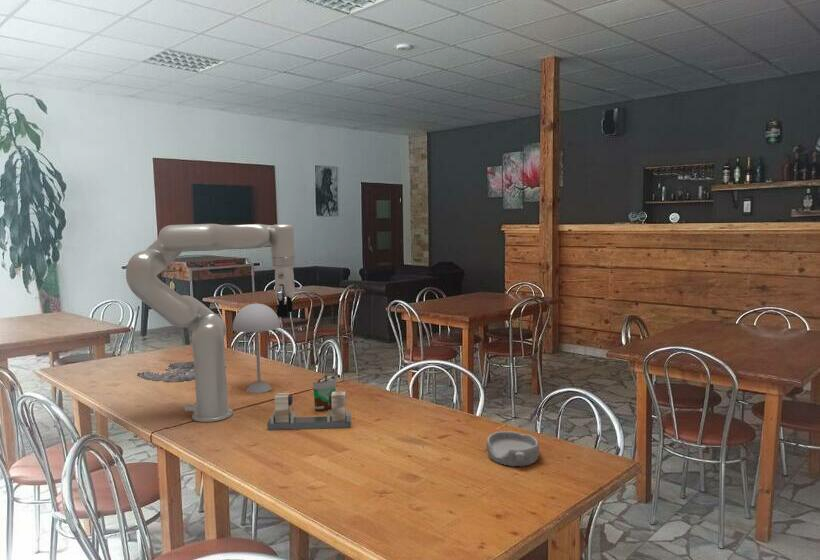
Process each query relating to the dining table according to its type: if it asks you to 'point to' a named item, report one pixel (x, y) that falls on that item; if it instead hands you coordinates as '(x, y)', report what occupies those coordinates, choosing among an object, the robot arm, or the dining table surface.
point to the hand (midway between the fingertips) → (285, 314)
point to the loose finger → (282, 407)
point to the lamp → (256, 321)
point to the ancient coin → (182, 373)
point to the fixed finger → (338, 405)
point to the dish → (512, 448)
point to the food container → (324, 392)
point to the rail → (309, 422)
